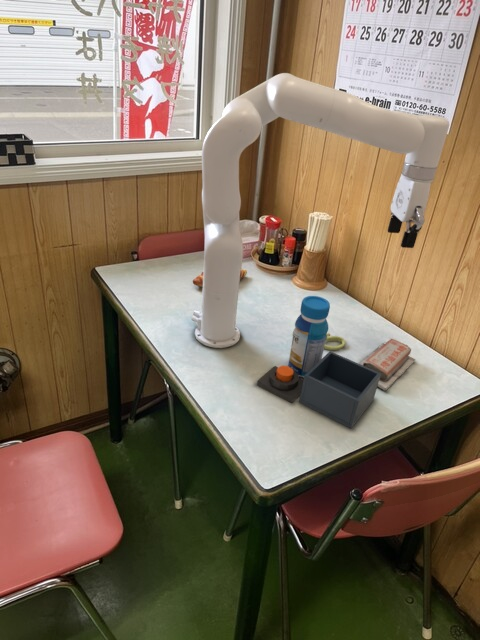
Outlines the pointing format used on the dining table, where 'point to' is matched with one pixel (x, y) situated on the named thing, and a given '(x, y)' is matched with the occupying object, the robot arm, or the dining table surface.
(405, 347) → the packaged product
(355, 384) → the blue box
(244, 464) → the dining table surface
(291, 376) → the call button
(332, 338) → the key
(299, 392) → the box
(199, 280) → the croissant
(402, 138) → the robot arm
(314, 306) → the beverage bottle
